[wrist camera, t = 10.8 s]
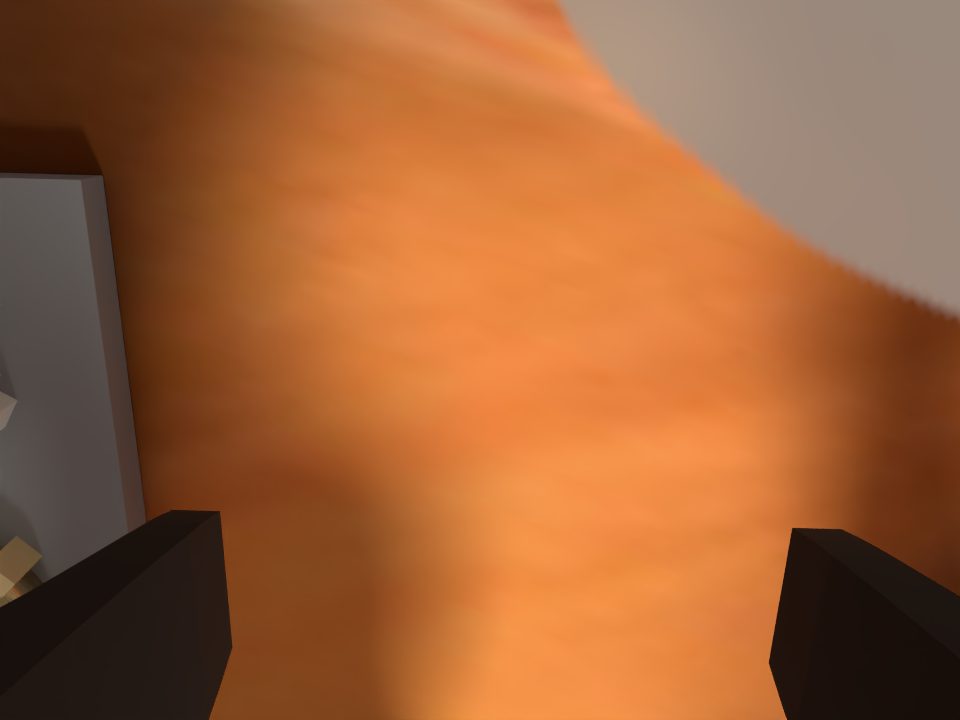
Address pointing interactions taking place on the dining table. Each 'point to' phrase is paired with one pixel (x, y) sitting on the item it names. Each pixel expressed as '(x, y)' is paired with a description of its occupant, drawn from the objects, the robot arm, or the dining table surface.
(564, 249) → the dining table surface
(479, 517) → the dining table surface
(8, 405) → the gear
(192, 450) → the dining table surface
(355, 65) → the dining table surface
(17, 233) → the gear board
